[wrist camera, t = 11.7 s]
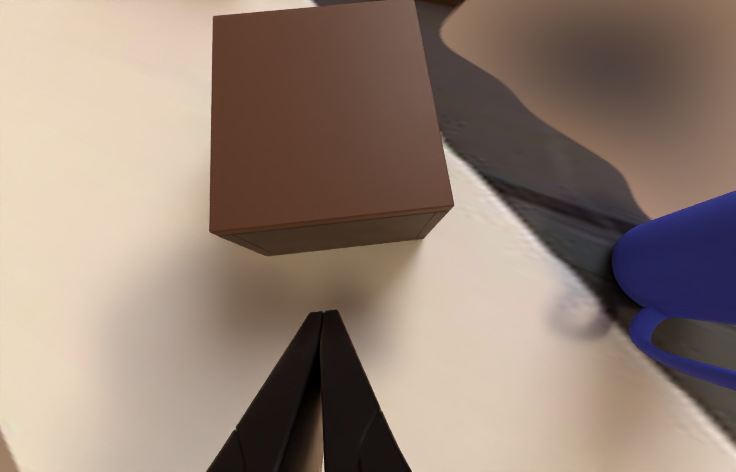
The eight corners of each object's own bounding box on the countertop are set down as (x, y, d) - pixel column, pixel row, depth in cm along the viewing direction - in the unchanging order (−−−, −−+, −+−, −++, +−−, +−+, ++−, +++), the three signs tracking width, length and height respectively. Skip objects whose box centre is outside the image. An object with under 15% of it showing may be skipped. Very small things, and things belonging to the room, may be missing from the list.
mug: (550, 319, 21) (715, 338, 11) (623, 199, 23) (816, 125, 13) (652, 393, 19) (938, 489, 10) (718, 260, 22) (1008, 229, 12)
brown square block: (219, 27, 18) (212, 15, 17) (412, 10, 18) (414, -3, 17) (217, 236, 15) (208, 232, 14) (450, 210, 15) (455, 205, 14)
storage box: (261, 112, 24) (219, 37, 17) (400, 98, 25) (414, 20, 18) (266, 256, 22) (217, 236, 15) (423, 238, 22) (450, 211, 15)
